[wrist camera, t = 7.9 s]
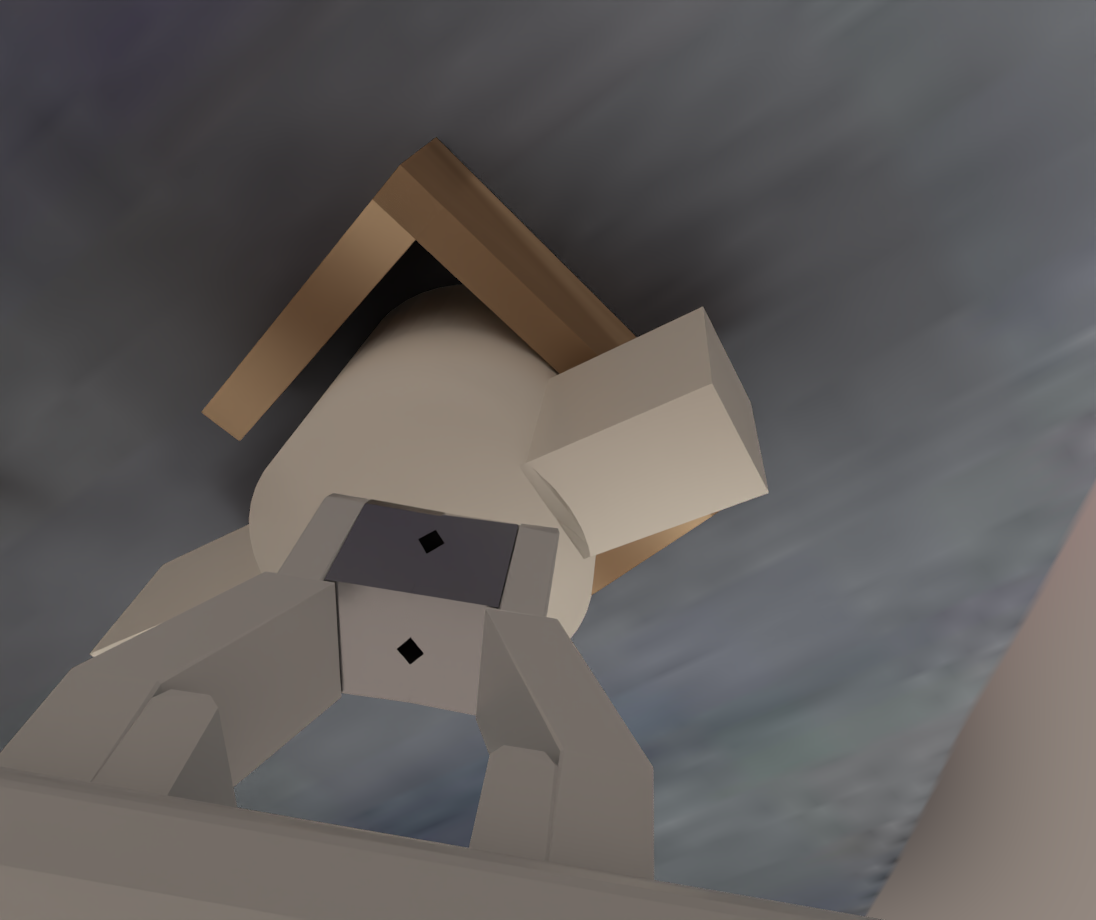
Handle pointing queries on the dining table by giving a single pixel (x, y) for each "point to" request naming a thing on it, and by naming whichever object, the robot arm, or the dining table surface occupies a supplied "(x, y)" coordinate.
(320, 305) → the cradle
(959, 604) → the dining table surface
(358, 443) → the white bar with bulge
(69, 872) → the robot arm
